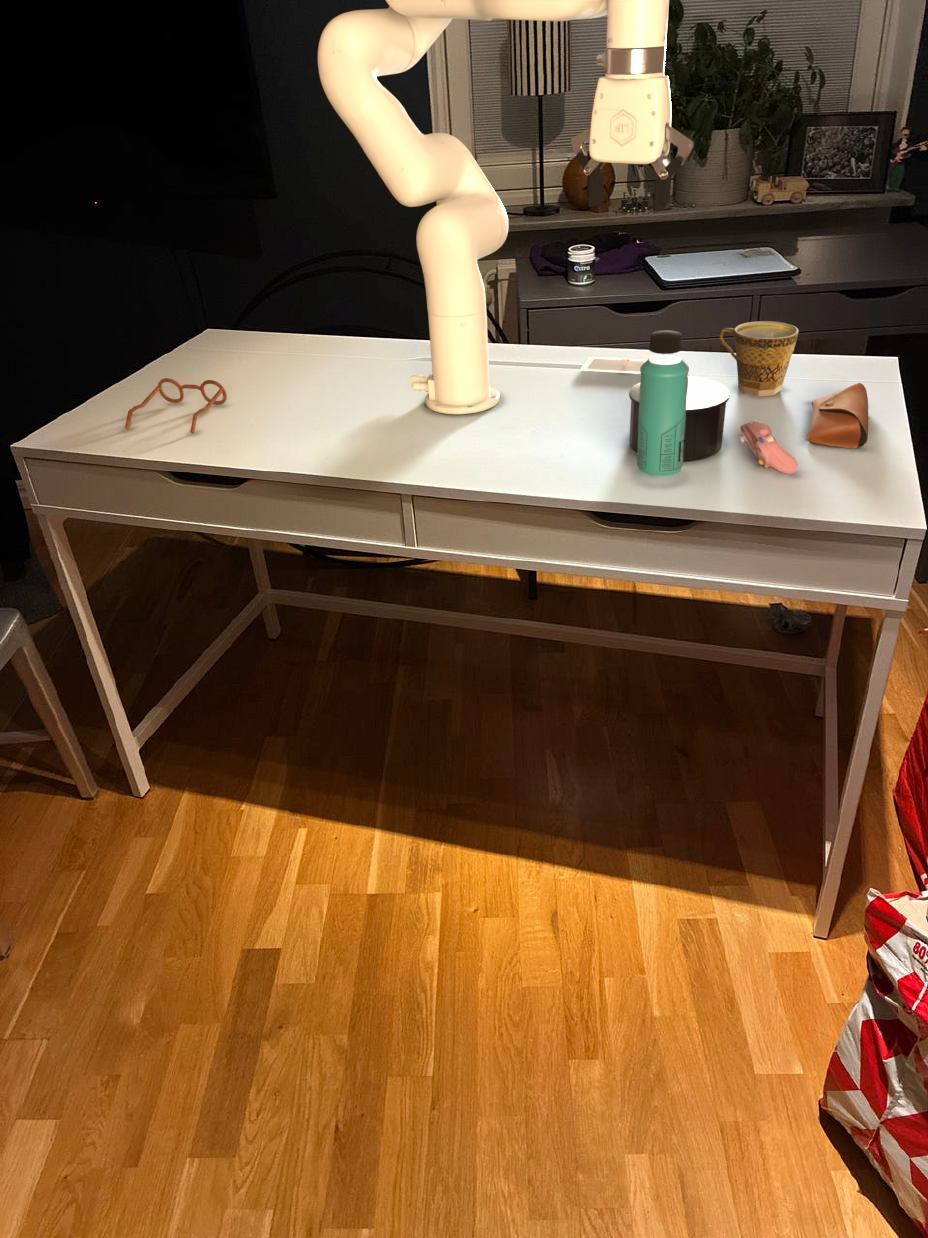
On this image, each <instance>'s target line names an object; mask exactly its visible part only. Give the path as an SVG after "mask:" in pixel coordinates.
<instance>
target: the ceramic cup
mask: <svg viewBox="0 0 928 1238" xmlns="http://www.w3.org/2000/svg"><path fill="white" fill-rule="evenodd" d="M799 331H800V330H799V328H797V327H796V326H795V325H793V324H789V323H785V322H781V321H773V320H771V321H770V320H760V321H750V322H744V323H741V324H738V325H737V326H736V327H735V328H733V327H725V328H723V329H722V330H721V331H720V333H719V341H720V343H721V344H722V345H723V346H724V348H726V349H727V350H728V352H729V353H730V355H731V356H732V357H733V359H734V360H735V361H736V369H737V370H736V371H737V387H738V389H739V390H740V392H742V393H743V394H744V395H749V396H755V397H765V396H767V397H768V396H774V395H776V394H778V393H779V392H780V391H782V388H783V385H784V380H785V377H786V374H787V371H788V370H789V369H788V368H789V365H790V362H791V359H792V356H793V354H794V351H795V347H796V344H797V340H798V338H799ZM725 332H727V333H729V334H731V335H732V336H733V337H734V338H733V339H734V348H735V349H734V350H735V352H734V351H733V349H732V348H731V347H730V346H729V344H727V342H725V340H724V339H723V337H724V336H723V335H724V333H725Z"/></svg>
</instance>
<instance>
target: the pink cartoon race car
mask: <svg viewBox="0 0 928 1238" xmlns="http://www.w3.org/2000/svg"><path fill="white" fill-rule="evenodd" d="M739 428H740V431H741V434H739V440H740V442H742V443H745V442H746V443H747V444H748V446H749V448H750V450H751V451H752V453H753V455H754V457H755V459H757V460H758V464H759V465H762V466H763V467H764V469H768V468H771V467H772V468H773V469H775V470H776V471H778V472H781V473H782V474H787V475H790V474H791V475H792V474H795V473H796V472H797V471H798V468H799V463H798V461H797V458H795V457H794V456H792V455H791V454H790V453H788V452H787V451H786V450H785V449H784V448H783V447H782V446H781V445H780V443H779V442H778V440H777V438H776V436H775V435H774V434H773V430H772V428H771V427H770V426H769V425H768V424H766V423H764V422H760V421H758V420H757V419H756V418H755V419H754V420H753V421H751V420H750V421H748V422H746V423H744V424H742V425H740V427H739Z"/></svg>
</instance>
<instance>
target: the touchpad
mask: <svg viewBox="0 0 928 1238" xmlns="http://www.w3.org/2000/svg"><path fill="white" fill-rule="evenodd" d="M647 360H648V359H642V358H641V359H639V358H623V357H621V358H620V357H602V356H588V358H587V359H586V360H585V362H584V363H583V364H582V366H581V367H580V368H579V371H581V372H598V373H599V372H601V373H615V374H617V373H619V374H633V375H634V374H635V375H641V372H640V368H641V366H642V365H643V364H644V363H645V362H646V361H647Z"/></svg>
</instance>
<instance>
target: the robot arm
mask: <svg viewBox="0 0 928 1238" xmlns="http://www.w3.org/2000/svg"><path fill="white" fill-rule="evenodd" d="M385 2H386V4H387V5H388V8H375V9H357V10H351V11H347V12H342V13H341V14H339V15H337V16H335V17H333V18H332V19H331V20H330V21H329V22H328V23H327V24H326V26H325V27H324V29H323V30H322V33H321V35H320V38H319V41H318V48H317V68H318V75H319V80H320V83H321V86H322V89H323V91H324V94H325V95H326V98H327V100H328V101H329V103H330V105H331V106H332V108H333V109H334V111H335V113H336V114H337V115H338V116H339V118H340V119H341V120H342V122H343V123H344V124H345V126H346V127H347V128H348V130H349V131H350V133H351V134H352V135H353V136H354V138H355V140H356V141H357V143H358V145H360V147H361V149H362V151H363V153H364V154H365V155H366V157H367V158H368V160H369V161H370V163H371V165H372V166H373V168H374V169H375V171H376V172H377V174H378V176H379V177H380V178H381V179H382V182H383V183H384V185H385V186H386V188H387V189H388V190H389V192H390V193H391V195H392V196H393V197H394V199H395V200H396V201H397V202H398V203H399V204H401V205H402V206H405V207H408V208H414V207H415V208H416V207H422V206H425V205H430V204H432V203H434V202H437V204H438V205H435V206H433V208H431V209H429V210H428V211H427V212H426V213H424V215H423V217H422V218H421V220H420V221H419V224H418V226H417V229H416V234H415V235H416V236H415V238H416V239H415V241H416V242H415V243H416V250H417V255H418V258H419V262H420V266H421V269H422V274H423V280H424V281H423V282H424V287H425V297H426V298H425V299H426V309H427V318H428V331H429V344H430V345H429V346H430V357H431V368H432V369H431V371H432V374H428V376H424V375H411V376H410V386H411V387H412V390H413V391H419V392H421V391H425V392H426V393H427V394H426V395H425V399H424V400H425V406H426V407H427V408H428V409H429V410H431V411H434V412H436V413H440V414H445V415H446V414H447V415H470V414H476V413H480V412H484V411H487V410H489V409H491V408H493V407H495V406H496V405H497V404H498V403H499V402H500V392H499V391H498V390H497V388H494V387H493V386H491V385H490V362H489V361H490V360H489V339H488V338H489V336H488V318H487V317H488V316H487V315H488V313H487V299H486V288H485V283H484V280H483V277H482V274H481V271H480V269H479V264H478V260H480V259H482V258H485V257H487V256H489V255H491V254H493V253H495V252H496V251H498V250H499V249H501V247H502V246H503V245H504V244H505V242H506V240H507V237H508V233H509V218H508V214H507V211H506V208H505V206H504V205H503V202H502V200H501V198H500V197H499V196H498V194H497V192H496V191H495V189H494V188H493V186H492V184H491V183H490V181H489V180H488V178H487V176H486V175H485V173H484V172H483V170H482V168H481V167H480V166H479V164H478V163H477V162H478V161H476V160H475V158H474V155H472V153H471V152H470V150H469V149H468V147H467V146H465V144H464V143H462V141H461V140H459V139H458V138H457V137H455V136H453V135H451V134H449V133H445V132H432V133H428V134H424V133H423V132H421V131H420V130H419V128H418V127H417V126H416V124H415V123H414V121H413V120H412V119H411V117H410V116H409V114H408V112H407V111H406V108H405V107H404V106H403V105H402V103H401V102H400V101H399V100H398V98H396V96H394V94H392V93H391V92H390V91H389V90H388V89H387V88H386V87H385V86H383V84H382V83H381V82H380V81H379V80H378V77H382V76H389V75H396V74H401V73H404V72H407V71H409V70H410V69H411V68H413V67H414V66H415V65H416V64H417V63H418V62H419V61H420V60H421V59H422V57H424V55H425V54H426V53H427V52H428V50H430V48H431V47H432V46H433V44H434V43H435V42H436V41H437V39H438V38H439V37H440V35H441V34H442V33H443V31H445V29H446V28H447V27H448V25H449V24H450V23H451V22H452V20H453V19H454V20H475V21H488V22H490V21H492V20H512V21H513V20H514V21H539V22H540V21H543V22H567V21H568V22H569V21H574V20H591V19H596V18H601V17H605V16H607V18H606V44H605V45H606V48H604V52H603V53H598V54H597V55H596V62H595V63H596V65H597V66H598V67H602V68H603V73H604V76H599V77H598V80H597V82H596V83H597V84H596V87H595V88H596V89H595V94H594V100H593V104H592V111H591V112H592V113H591V118H590V127H589V128H587V129H585V130H583V131H582V132H580V133H578V134H577V135H575V136H574V137H572V138H571V139H570V144H571V147H572V149H573V152H574V154H575V156H576V161H577V162H578V164H579V166H581V167H582V169H583V173H584V175H586V180H587V181H586V198H587V199H588V207H592V208H593V207H596V206H598V205H600V204H602V203H603V202H604V180H605V179H604V178H605V175H604V172H603V171H602V168H603V167H604V166H605V165H606V163H609V164H610V163H613V164H630V165H649V164H650V165H651V166H652V167H653V169H654V171H655V172H656V174H657V177H658V178H656V179H655V180H654V187H653V200H652V201H653V202H652V210H653V211H654V212H661V211H663V210H665V209H667V206H668V205H669V203H670V200H671V188H672V178H673V176H675V175H676V173H678V171H679V170H680V169H681V168H682V167H683V166H684V165H685V164H686V161H687V160H688V159H689V158H688V157H689V156H690V154H691V152H692V150H693V148H694V146H695V143H694V141H693V140H691V139H690V138H688V137H687V136H686V135H684V134H683V133H681V132H680V131H678V130H677V129H676V128H674V127H672V101H671V99H672V98H671V88H670V79H669V76H668V75H665V66H666V65H665V64H666V62H665V61H666V51H667V50H666V49H667V34H668V21H669V7H670V6H669V5H670V0H385ZM587 142H588V143H589V144H588V151H587V147H586V143H587ZM671 144H673V145H674V146H675V147H676V148H677V153H676V155H675V156H674V158H673V159H672V160H670V158H669V157H668V155H669V153H670V148H671Z"/></svg>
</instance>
